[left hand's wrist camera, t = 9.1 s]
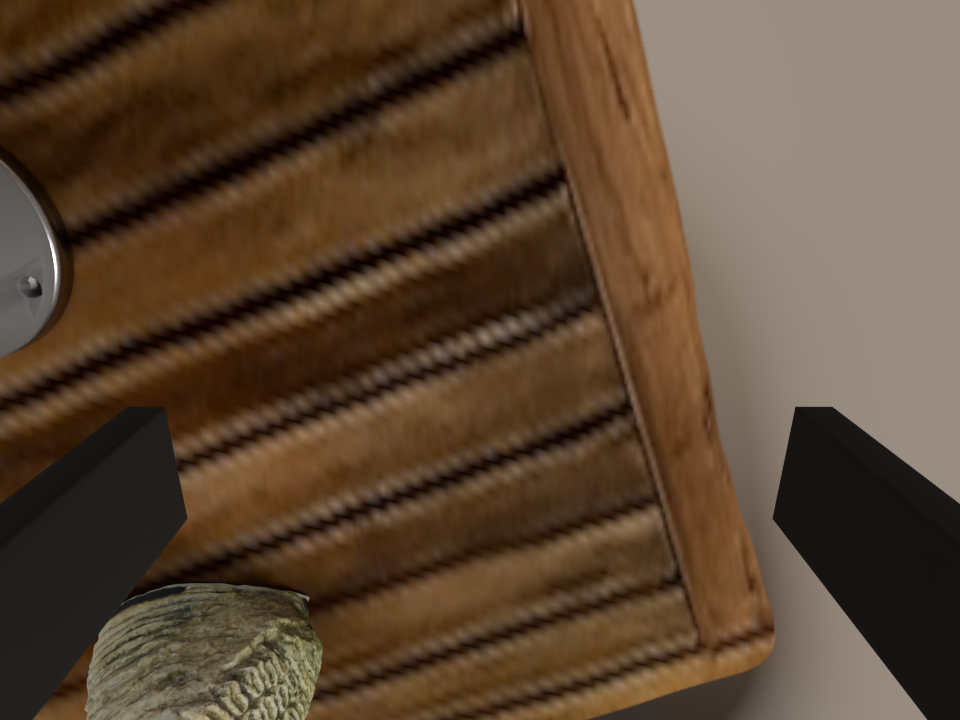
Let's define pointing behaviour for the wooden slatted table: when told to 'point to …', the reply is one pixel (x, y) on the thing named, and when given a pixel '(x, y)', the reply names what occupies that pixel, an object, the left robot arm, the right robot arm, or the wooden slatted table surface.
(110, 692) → the fossil
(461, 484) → the wooden slatted table surface
